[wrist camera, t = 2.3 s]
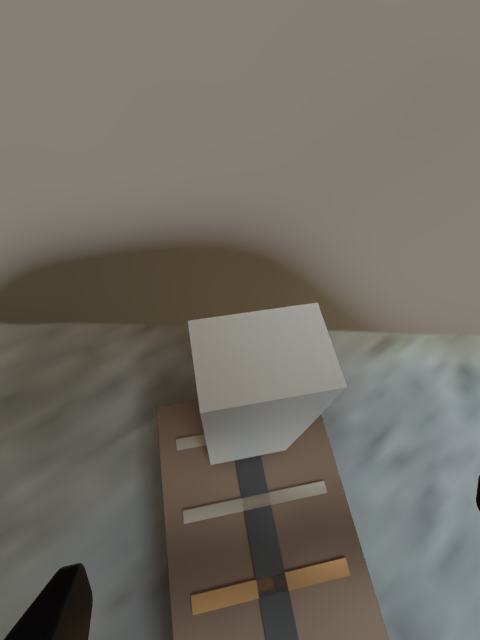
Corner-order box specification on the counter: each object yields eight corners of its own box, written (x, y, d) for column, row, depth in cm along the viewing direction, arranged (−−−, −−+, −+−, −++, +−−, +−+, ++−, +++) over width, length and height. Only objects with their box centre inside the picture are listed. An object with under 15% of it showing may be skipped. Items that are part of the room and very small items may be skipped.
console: (407, 773, 13) (446, 826, 11) (198, 845, 12) (193, 921, 10) (300, 394, 20) (310, 379, 18) (163, 419, 19) (156, 405, 17)
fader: (285, 450, 16) (347, 387, 8) (210, 465, 16) (200, 413, 8) (273, 399, 17) (317, 302, 9) (203, 412, 17) (187, 320, 9)
